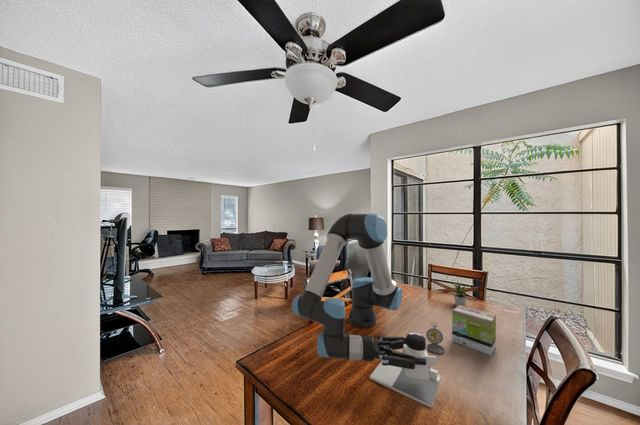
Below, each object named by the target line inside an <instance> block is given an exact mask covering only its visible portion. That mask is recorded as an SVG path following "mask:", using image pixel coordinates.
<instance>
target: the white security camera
mask: <svg viewBox="0 0 640 425" xmlns="http://www.w3.org/2000/svg"><path fill="white" fill-rule="evenodd" d="M405 337H406V344H403V349H402V353H404V354H408V355H411V356H414V354H415V355H427V356H429V354H428V350H427V351H426V342H427V340H426V339H427V338H426V337H424V335H422V334H420V333H417V332H410V333H407V334H406V336H405ZM430 368H431V366H427V365H415V369H414V370H413V369H407V368H404V369H405V373H406V376H407V377H410V378H417V379H423V380H430Z"/></svg>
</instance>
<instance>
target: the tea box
mask: <svg viewBox="0 0 640 425" xmlns="http://www.w3.org/2000/svg"><path fill="white" fill-rule="evenodd" d="M451 314H452V315H451V316H452V321H451V322H452V326H451V339H452V342H453V343H456V344H459V345H462V346H464V347H467V348H470V349H472V350H475V351H477V352H480V353H483V354H484V355H485V354H486V355H487V356H490V357H492V355H493V352H494V350H495V349H496V339H497V336H496V335H497V334H496V333H497V332H496V331H497V328H496V326H497V315H496V314H495V313H492V312H491V313H490V312H487V311H484V310H483V311H482V310H479V309H475V308H472V307H468V306H466V305H465V306H461V305H458V306H456V307H455V308H454V309H453V310H452V313H451Z"/></svg>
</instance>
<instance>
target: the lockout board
mask: <svg viewBox="0 0 640 425" xmlns="http://www.w3.org/2000/svg"><path fill="white" fill-rule="evenodd" d="M441 379H442V375H440V374H439V370H437V369H434V368H431V367H430V380H423V379H417V378H410V377H407V376H406V373H405V369H404V368H401V367H396V366H390V365H387V366H383V365H382V361H381V360H380V363H379V364H378V365H377V366H376V367H375V369H374V370H373V372H372V373H371V374H370V375H369V380H372V381H374V382H375V383H377V384H380V385H382V386H384V387H385V388H389V389H391V390H393V391H395V392H397V393H399V394H401V395H403V396H405V397H408V398H410V399H412V400H414V401H416V402H418V403H420V404H422V405H424V406H426V407H428V408H431V409H432V408H433V405H434V402H435V399H436V396H437V392H438V389H439V385H440V383H441Z"/></svg>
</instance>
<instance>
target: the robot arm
mask: <svg viewBox="0 0 640 425" xmlns="http://www.w3.org/2000/svg"><path fill="white" fill-rule="evenodd" d="M387 236H388V224H387V222H386V220H385V218H384V217H383V216H382V215H381V214H377V213H347V214H344V215H343V216H341V217H339V218H338V219H337V220H336V221H334V223H333V224H332V225H331V227H330V228H329V230H328V232H327V235H326V239H327V240H326V242H325V244H324V246H323V248H322V251H321V253H320V256H319V257H318V260H317V261H316V264H315V266H314V268H313V271H312V273H311V275H310V277H309V280H308V282H307V285H306V287H305V289H304V291H303V293H302V294H297V295H296V297H294V298H293V300H292V302H291V303H292V304H291V310H292V312H293V313H294V314H295V315H297V316H299V317H301V319H303V318H304V319H307V320H309V321H312V322H314V323H316V324H319V325H322V326H323V328H322V329H323V332H318V335H317V340H316V342H317V343H316V344H317V345H316V350H317V351H316V352H317V355H318V356H319V357H322V358H327V359H340V360H341V359H342V360H352V361H361V360H362V361H364V362H374V361H375V359H378V360H380V362H381V361H382V365H383V366H387V365H390V366H396V367H401V368H407V369H413V370H414V369H415V365H427V366H430V367H437V357H436V355H428V356H427V355H415V354H414V356H411V355H408V354H404V353H403V352H400V351H397V350H401V349H402V350H403V344H406V336H405V337H404V336H381V335H377V336H376V339H375V340H374V337H373V336H371V335H370V336H369V335H363V336H361V335H359V334H346V332H345V329H346V328H345V326H346V325H345V324H346V322H345V321H346V307H345V306H346V304H345V302H344V301H343V299H340V298H337V297H336V298H335V297H329V298H326V299H325V300H324V301H322V298H323V296H324V294H325V292H326V290H327V289H326V288H327V286H328V283H329V282H330V278H331V276H332V275H333V271H334V269H335V266H336V264H337V261H338V259H339V256H340V253H341V252H342V249H343V247H344V246H346V245H347V242H348V241H350V240H352V241H353V240H354V241H355V240H356V241H357V243H358V246H359V248H361V249H363V251H364V255H365V257H366V261H367V265H368V268H369V272H370V274H371V277H368V276H367V277H364V276H363V277H358V278H354V279H353V280H352V283H351V307H350V311H349V314H348V322H349V323H350V324H351V325H352V326H355V327H358V328H372V327H375V326H376V325H377V322H378V321H377V320H378V319H377V315H376V311H375V309H374V306H375V307H377V308H380V309H385V310H388V311H393V312H396V311H398V310H399V309H400V306H401V304H402V299H403V288H402V287H400V286H397V283H396V281H395V280H394V279H393V278H392V277H391V273H390V269H389V268H390V267H389V265H388V261H387V257H386V253H385V249H384V246H383V244H384V243H385V240H386V239H387ZM427 345H428V343H427V341H426V351H427V352H428V347H427Z"/></svg>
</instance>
